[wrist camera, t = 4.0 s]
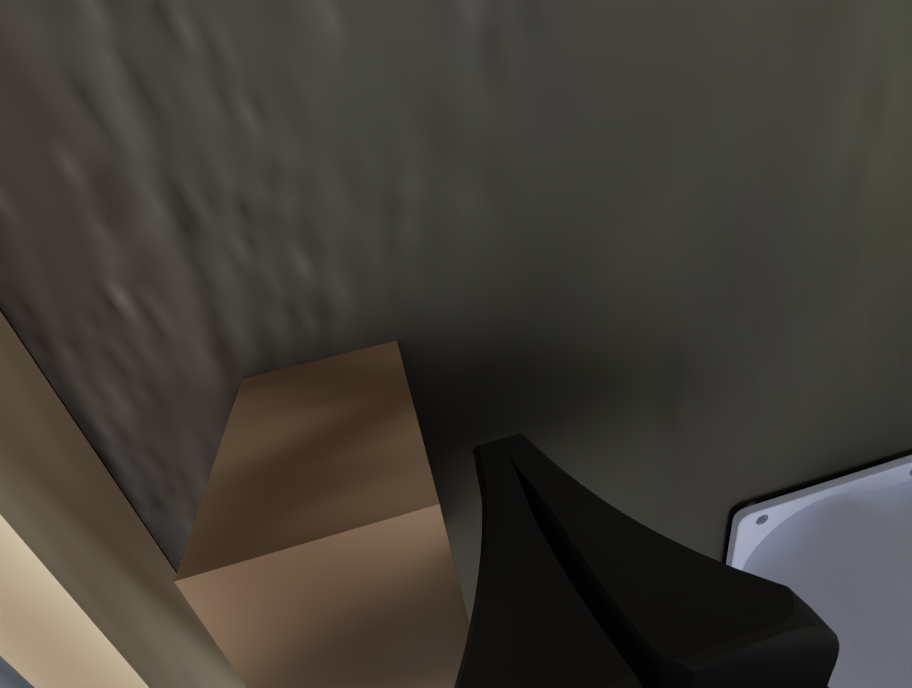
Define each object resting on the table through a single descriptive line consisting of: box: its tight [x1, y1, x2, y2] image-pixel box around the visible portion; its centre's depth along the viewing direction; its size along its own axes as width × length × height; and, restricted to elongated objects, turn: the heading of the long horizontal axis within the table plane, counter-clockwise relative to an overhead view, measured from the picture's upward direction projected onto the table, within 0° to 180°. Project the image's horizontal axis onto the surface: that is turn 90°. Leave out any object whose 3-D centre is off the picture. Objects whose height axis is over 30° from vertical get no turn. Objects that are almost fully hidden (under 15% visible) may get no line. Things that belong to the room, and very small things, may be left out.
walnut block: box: [174, 340, 470, 688], centre depth 12 cm, size 4×7×6 cm, turn 9°
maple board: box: [0, 311, 247, 688], centre depth 12 cm, size 2×22×3 cm, turn 10°
